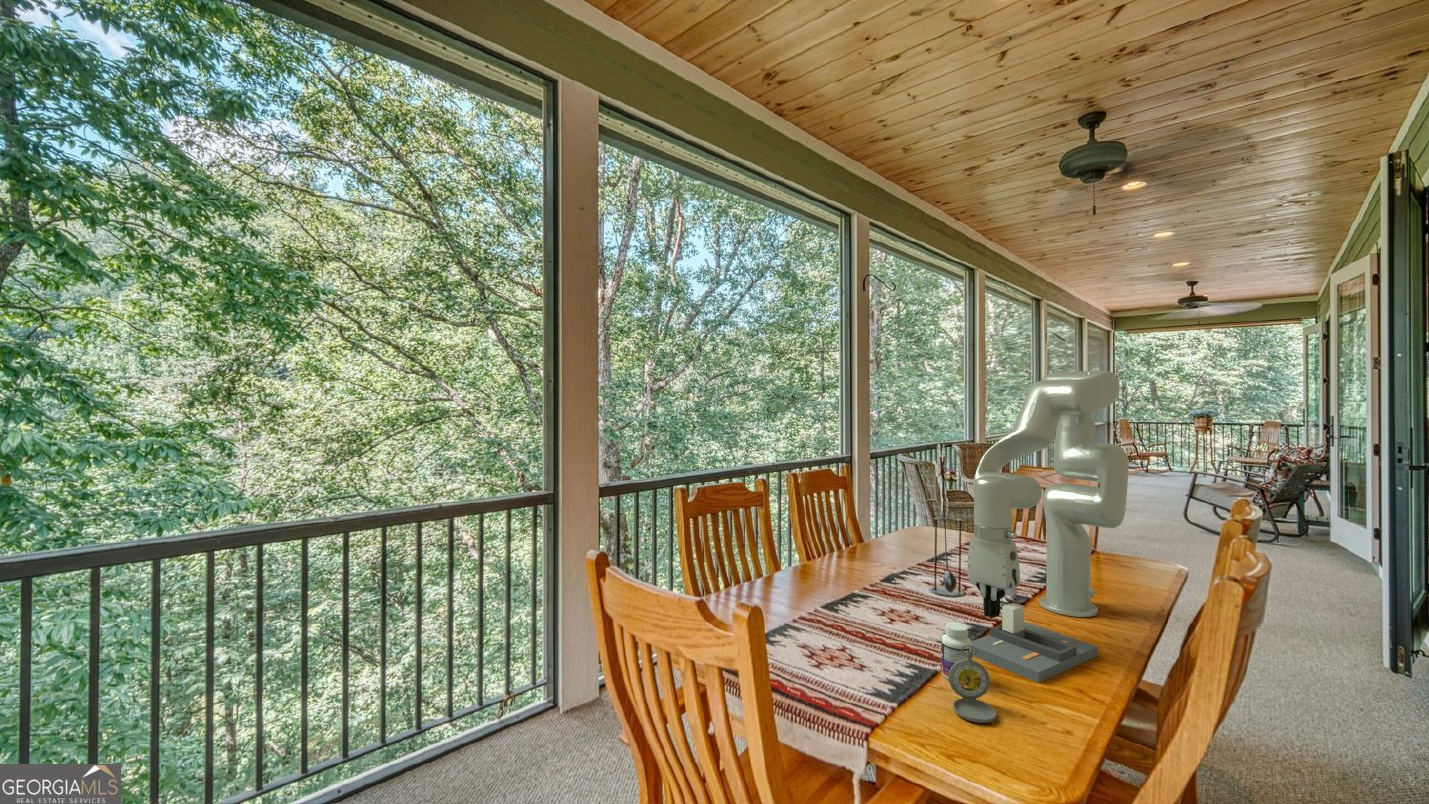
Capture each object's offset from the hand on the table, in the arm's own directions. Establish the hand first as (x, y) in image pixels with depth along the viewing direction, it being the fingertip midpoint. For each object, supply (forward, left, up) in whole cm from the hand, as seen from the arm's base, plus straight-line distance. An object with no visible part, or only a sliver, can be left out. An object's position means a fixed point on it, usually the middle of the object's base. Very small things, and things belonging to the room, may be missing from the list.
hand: (991, 615), depth 127 cm
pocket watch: (+30, +16, -5) cm, 34 cm away
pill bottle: (+22, +7, -5) cm, 24 cm away
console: (0, +9, -5) cm, 10 cm away
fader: (0, +5, -3) cm, 6 cm away
